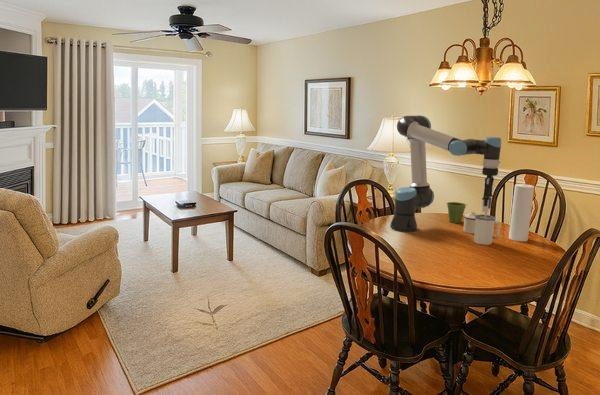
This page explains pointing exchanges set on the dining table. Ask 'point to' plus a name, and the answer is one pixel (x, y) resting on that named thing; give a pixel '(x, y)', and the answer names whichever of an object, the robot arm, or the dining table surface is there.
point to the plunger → (488, 207)
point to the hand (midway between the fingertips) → (486, 210)
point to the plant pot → (455, 211)
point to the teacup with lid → (469, 223)
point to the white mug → (485, 229)
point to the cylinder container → (521, 212)
